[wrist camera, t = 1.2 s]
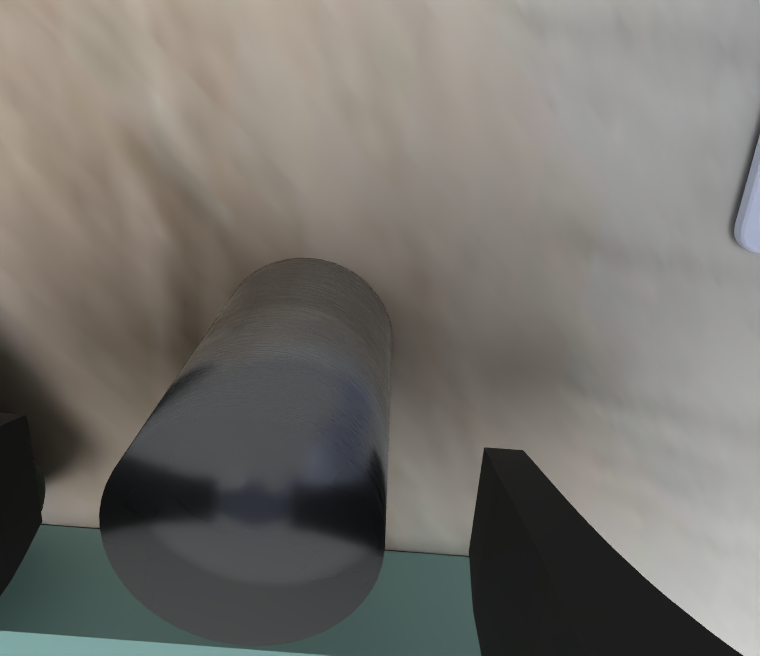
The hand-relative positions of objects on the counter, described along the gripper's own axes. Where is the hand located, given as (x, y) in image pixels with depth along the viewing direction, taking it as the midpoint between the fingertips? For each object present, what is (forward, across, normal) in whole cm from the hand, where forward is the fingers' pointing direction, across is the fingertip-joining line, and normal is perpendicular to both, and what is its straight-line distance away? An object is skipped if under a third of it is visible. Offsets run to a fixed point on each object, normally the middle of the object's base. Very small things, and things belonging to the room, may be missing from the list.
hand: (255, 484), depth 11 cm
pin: (+6, 0, 0) cm, 6 cm away
